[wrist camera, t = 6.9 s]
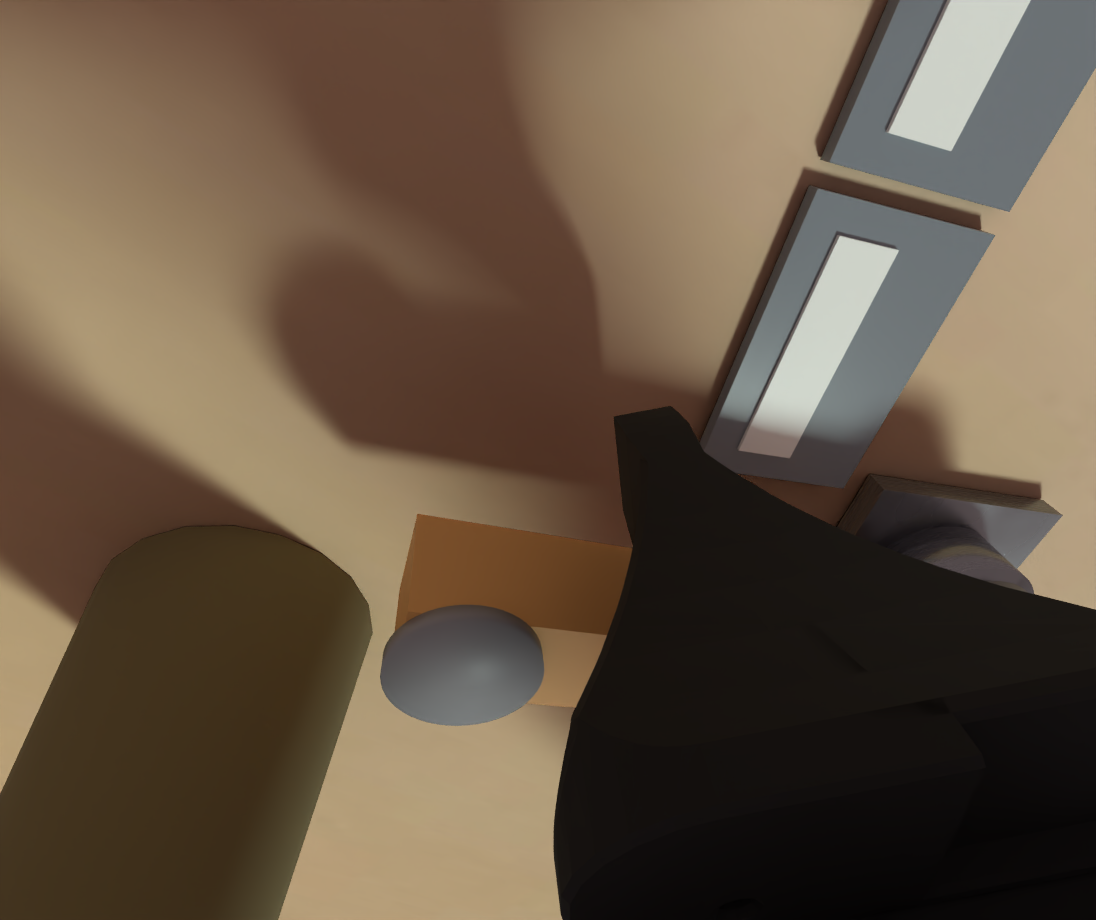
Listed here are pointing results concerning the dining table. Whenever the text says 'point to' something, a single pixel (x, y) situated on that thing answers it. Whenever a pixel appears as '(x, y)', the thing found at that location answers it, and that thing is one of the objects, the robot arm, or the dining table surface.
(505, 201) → the dining table surface
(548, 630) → the swing arm
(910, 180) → the label
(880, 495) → the square flange plate
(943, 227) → the label
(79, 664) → the olive cylinder
